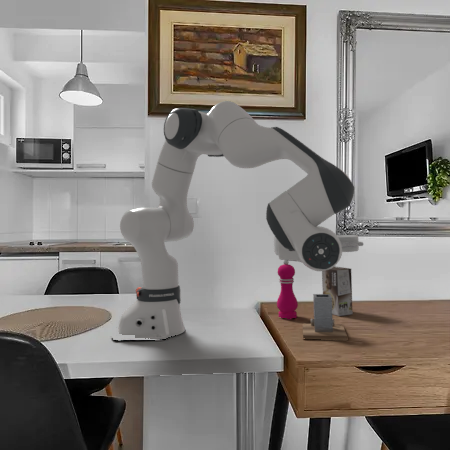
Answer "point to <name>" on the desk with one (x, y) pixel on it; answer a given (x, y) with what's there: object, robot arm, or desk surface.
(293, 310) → the pepper mill
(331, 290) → the coffee box
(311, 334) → the post plate
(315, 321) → the grey slotted block
